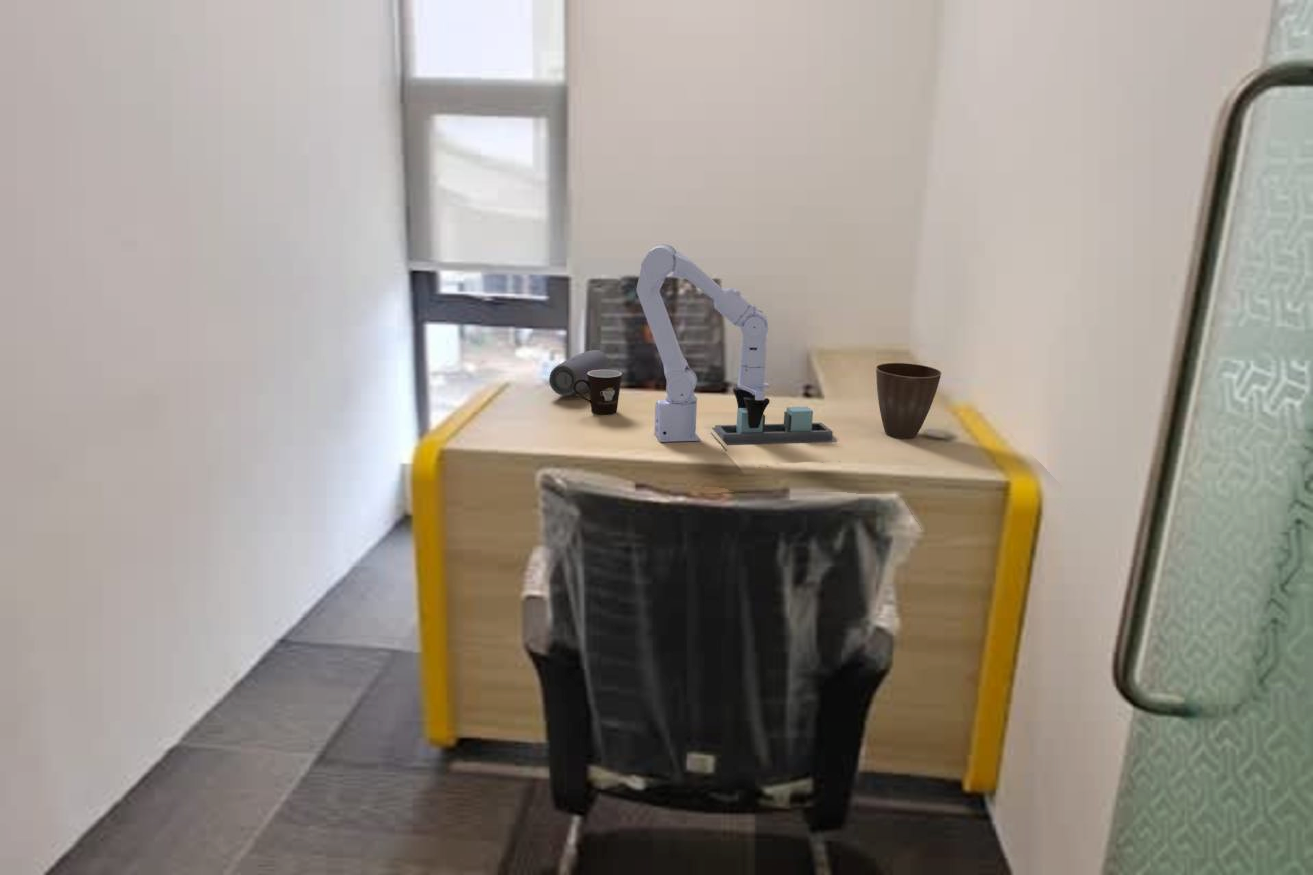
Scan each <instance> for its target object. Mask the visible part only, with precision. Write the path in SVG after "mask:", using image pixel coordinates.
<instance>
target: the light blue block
mask: <svg viewBox="0 0 1313 875" xmlns="http://www.w3.org/2000/svg"><path fill="white" fill-rule="evenodd" d="M813 417H814V411H813V410H812V409H811V408H810V407H808V406H787V407H786V411H784V415H783V424H784V426H783V427H785V431H812V423H813Z"/></svg>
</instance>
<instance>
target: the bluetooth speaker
mask: <svg viewBox="0 0 1313 875" xmlns="http://www.w3.org/2000/svg"><path fill="white" fill-rule="evenodd" d="M610 365H611V364H610V361H609V358H608V356H607V355H606V354H605V353H604V352H603V351H601V350H598V349H592V350H587V351H585V352H581V353H578V354H577V355H574V356H571V358H567V360H564V361H562V362H561V363H559V364H558V365H556V366H555V367H554V368H552V370H551V372H550V375H549V378H548V380H549V385H550V388H551V389H552V390H553V392H554V393H556V394H557V395H559V396H564V397H565V396H566V397H567V396H579V395H578V394H577V393H576V392H575V391H574V389H573V386H574V383H575V382H576V381H577V380H580V379H584V380H586V381H588V374H587V373H588V372H589V371H593V370H610ZM576 391H577V392H578V393H579V394H580V395H582V394H584V393H585V392H587V391H589V387H588V386H587V384H586V383H585V382H579V383H577V384H576Z"/></svg>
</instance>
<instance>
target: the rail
mask: <svg viewBox="0 0 1313 875" xmlns="http://www.w3.org/2000/svg"><path fill="white" fill-rule="evenodd" d="M783 426H784V423H765V428H764V431H762V432H747V433H736V428H737V424H718V425H717V424H716V425H715V426H714V427H711V429H712V431H714V432H715V433H716V435H717V436H718V437H719V438H720V440H722V442H723V443H724V444H725V445H726V446H742V445H743V446H745V445H747V446H751V445H753V446H755V445H783V444H815V443H816V444H817V443H819V444H820V443H822V444H823V443H838V440H836V439H834V437H833V435H834V434H833V433H834V432H833V430H832V429H830V428H829V427H827V425H825V424H823V423H822V422H812V431H785V427H783ZM710 435H712V437H713V438H714V439H715V440H716V441H717V442H718V443H719V445H720V444H721V445H720V446H721V447H722V448H723V450H725V452H726V451H728V450H727V449H726V447H724V446H723V444H722V443H721V442H720V441H719V440H718V438H717V437H716V436H715V435H714V434H713V433H712V432H711V433H710Z"/></svg>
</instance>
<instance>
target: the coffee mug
mask: <svg viewBox="0 0 1313 875" xmlns="http://www.w3.org/2000/svg"><path fill="white" fill-rule="evenodd" d="M622 373H623V372H621V371H619V370H614V369H609V370H593V371H589V372H588V373H587V374H588V381H586V380H584V379H580V380H577V381H576V382H575V383H574V386H573V389H574V391H575V392H576V393H577V394H578V395H577V396H579V397H580V398H582V399H583V400H585V401H587V402H589V404H590V408H591V411H590V412H591V413H592V414H594V415H597V416H613V415H615V414H617V413H618V405H619V404H618V403H619V399H620V398H619V397H620V389H621V384H622V376H623V374H622ZM579 382H585V383H586V384H587V386H588V387H589V390H588V392H589V398H587V397H586V396H584V395H582V394H579V393H578V392H577V391H576V384H577V383H579Z"/></svg>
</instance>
